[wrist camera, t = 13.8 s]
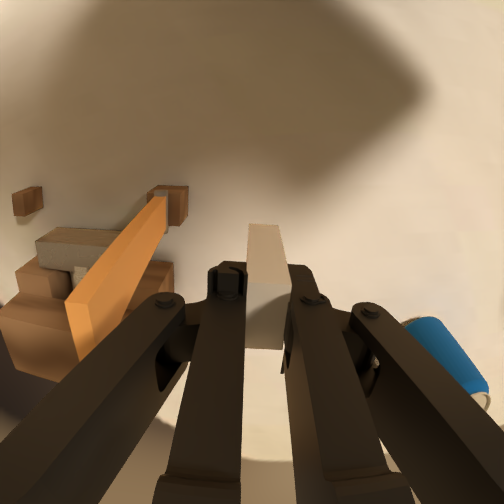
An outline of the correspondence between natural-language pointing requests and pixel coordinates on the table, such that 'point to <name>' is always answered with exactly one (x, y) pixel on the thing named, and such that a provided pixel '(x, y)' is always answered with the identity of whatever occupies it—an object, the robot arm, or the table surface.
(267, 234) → the robot arm
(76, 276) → the pin
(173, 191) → the hitch block
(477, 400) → the beverage can
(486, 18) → the table surface
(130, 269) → the bar
